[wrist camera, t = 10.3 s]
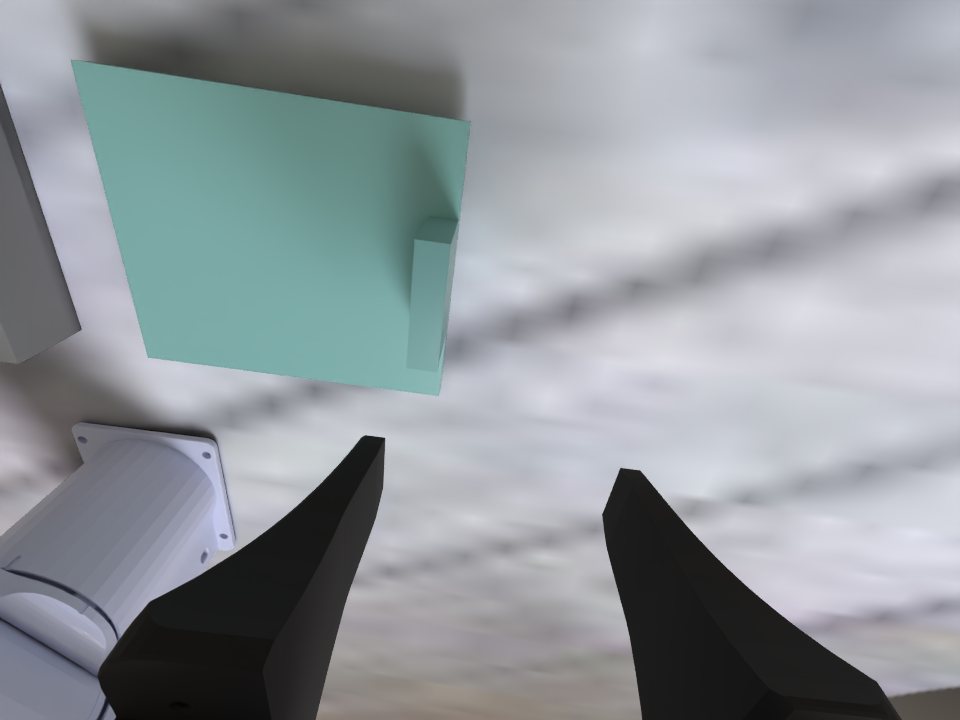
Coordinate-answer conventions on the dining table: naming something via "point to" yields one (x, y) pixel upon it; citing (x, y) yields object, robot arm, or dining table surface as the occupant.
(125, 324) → the dining table surface
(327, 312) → the lid
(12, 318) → the tub
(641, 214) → the dining table surface
